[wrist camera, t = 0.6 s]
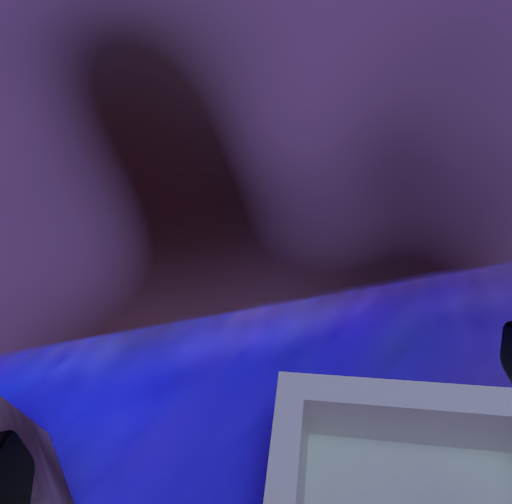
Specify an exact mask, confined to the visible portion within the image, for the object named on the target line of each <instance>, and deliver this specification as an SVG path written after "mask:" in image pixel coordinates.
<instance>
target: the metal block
mask: <svg viewBox="0 0 512 504" xmlns="http://www.w3.org/2000/svg"><path fill="white" fill-rule="evenodd" d="M5 430H13V431H15V432H16V433H17V434H18V435H19V437H20V438H21V440H22V441H23V443H24V444H25V446H26V447H27V449H28V450H29V452H30V453H31V455H32V457H33V459H34V463H35V474H34V481H33V488H32V496H31V503H30V504H74V503H73V500H72V497H71V495H70V492H69V489H68V486H67V483H66V481H65V478H64V475H63V472H62V469H61V467H60V464H59V461H58V458H57V455H56V453H55V450H54V447H53V444H52V441H51V439H50V436H49V433H48V432H46V431H45V430H44V429H43V428H41V427H40V426H39V425H37V424H36V423H35V422H33V421H32V420H31V419H30V418H28V417H27V416H26V415H24V414H23V413H22V412H21V411H19V410H18V409H17V408H15V407H14V406H13V405H12V404H10V403H9V402H8V401H6V400H5V399H4V398H2V397H1V396H0V432H1V431H5Z"/></svg>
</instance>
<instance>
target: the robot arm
mask: <svg viewBox="0 0 512 504" xmlns="http://www.w3.org/2000/svg"><path fill="white" fill-rule="evenodd" d="M500 360H501V364H502V366H503V369H504V371H505V372H506V374H507V376H508V378H509V380H510V381H511V383H512V321H508V322H507V323H505V325H504V326H503V332H502V341H501V350H500ZM34 474H35V463H34V459H33V457H32V455H31V453H30V452H29V450H28V449H27V447H26V446H25V444H24V443H23V441H22V440H21V438H20V437H19V435H18V434H17V433H16V432H15V431H13V430H5V431H1V432H0V504H30V503H31V496H32V488H33V481H34Z"/></svg>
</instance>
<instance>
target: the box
mask: <svg viewBox="0 0 512 504" xmlns="http://www.w3.org/2000/svg"><path fill="white" fill-rule="evenodd" d="M263 504H512V388H507V387H493V386H478V385H464V384H450V383H435V382H421V381H407V380H393V379H378V378H364V377H350V376H336V375H321V374H307V373H293V372H279V376H278V384H277V392H276V401H275V409H274V417H273V425H272V434H271V442H270V450H269V458H268V467H267V475H266V483H265V492H264V500H263Z"/></svg>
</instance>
